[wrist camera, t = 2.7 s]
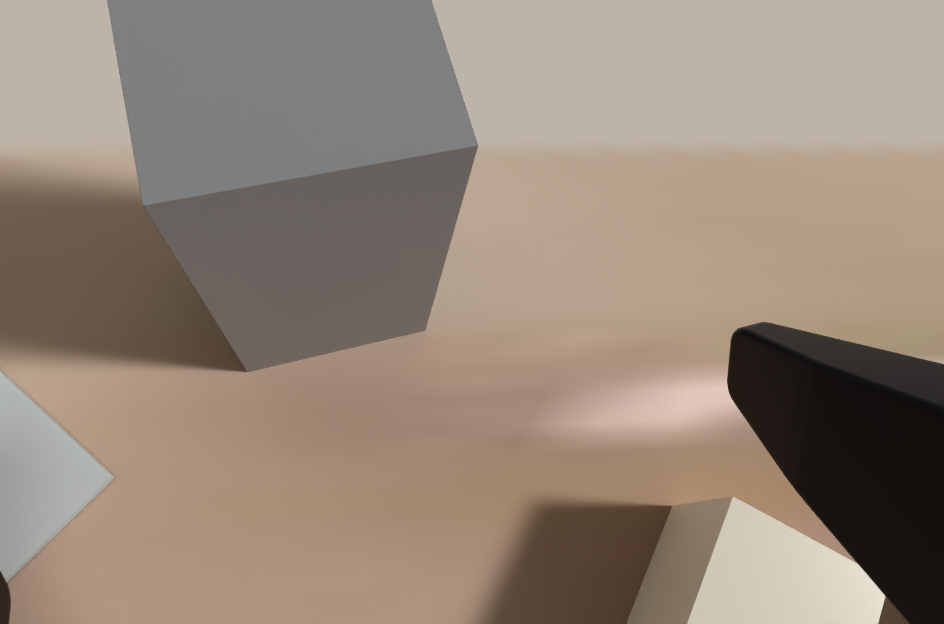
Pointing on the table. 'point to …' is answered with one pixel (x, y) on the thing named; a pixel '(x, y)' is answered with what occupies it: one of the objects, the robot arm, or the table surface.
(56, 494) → the rail plate
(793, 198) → the table surface
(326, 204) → the module
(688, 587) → the block
